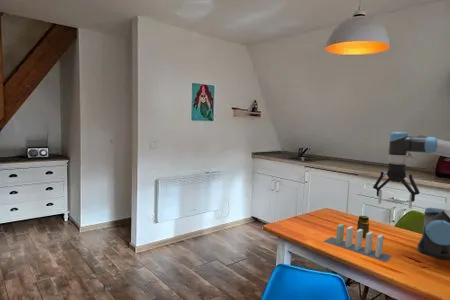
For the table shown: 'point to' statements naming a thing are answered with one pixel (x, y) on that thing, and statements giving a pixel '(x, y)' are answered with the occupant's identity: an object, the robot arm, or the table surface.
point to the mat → (383, 257)
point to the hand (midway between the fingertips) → (394, 205)
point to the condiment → (363, 225)
